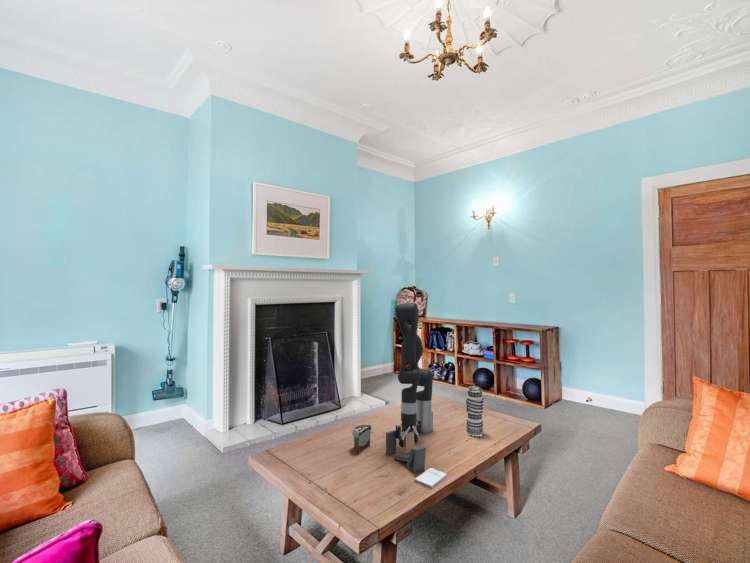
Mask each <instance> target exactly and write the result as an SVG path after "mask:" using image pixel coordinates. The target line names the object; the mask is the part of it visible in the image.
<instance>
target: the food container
mask: <svg viewBox="0 0 750 563" xmlns="http://www.w3.org/2000/svg"><path fill="white" fill-rule="evenodd" d="M371 431H372V425H371V424H360V425H356V426H354V427H353V429H352V432H351V433H352V434H351V435H352V436H353V443H354V446H353V447H354V451H355V453H357V454H362V452H364V451H366V450H367V449H368V448H369V447H371V433H372V432H371Z"/></svg>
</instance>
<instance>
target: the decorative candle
mask: <svg viewBox="0 0 750 563" xmlns="http://www.w3.org/2000/svg"><path fill="white" fill-rule="evenodd" d="M466 390H467V395H466V396H467V397H466V400H465V404H466V406H465V407H466V412H467V416H466V418H467V419H466V434H467V433H468V434H469V435H468V434H467V435H468V436H470V435H472V436H471V437H473V436H475V435H476V436H477V435H481V434H482V433H484V432H483V431H484V422H483V414H484V411H483V410H484V397H483V389H482V388H481V387H480V386H477V385H470V386H469V387H468V388H466Z"/></svg>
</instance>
